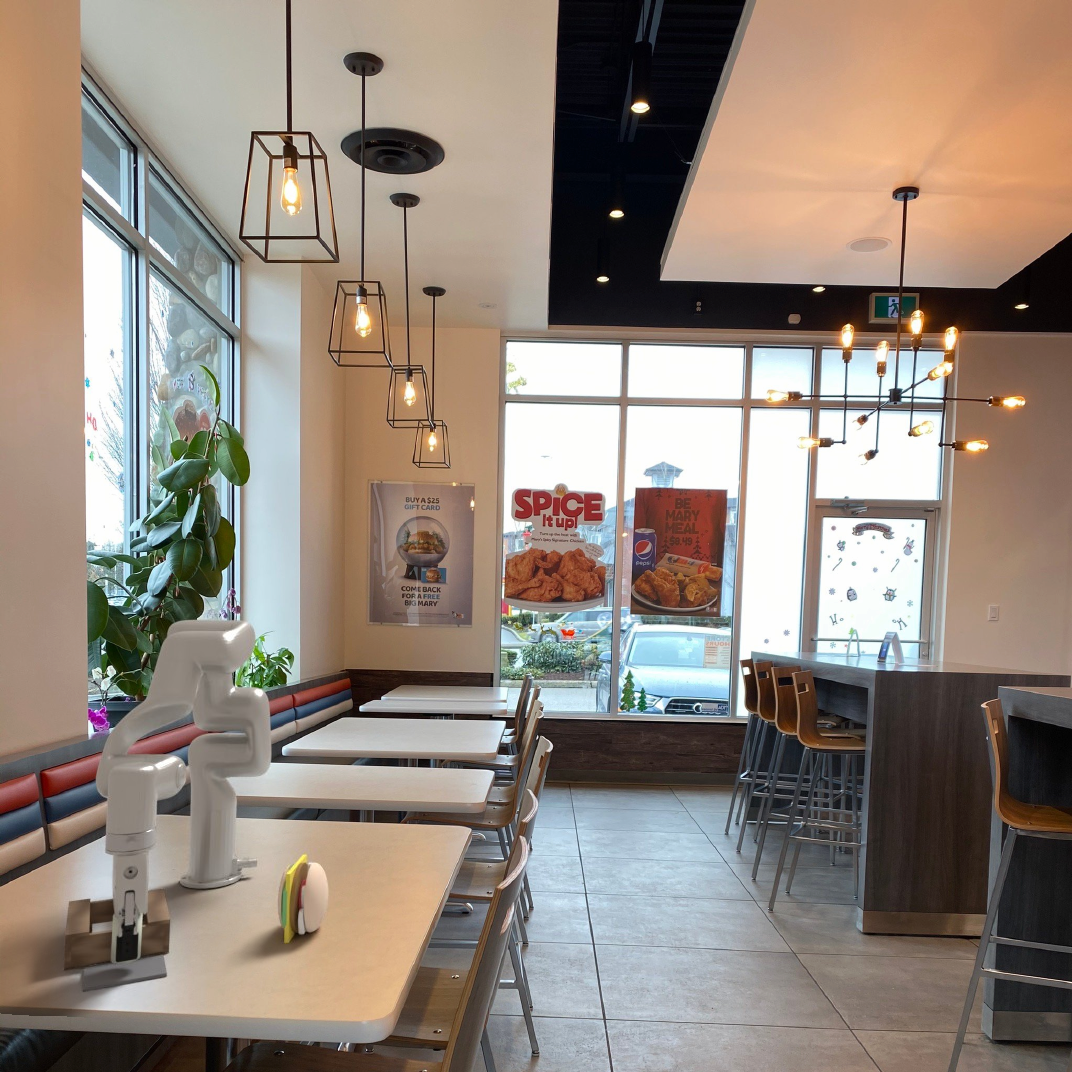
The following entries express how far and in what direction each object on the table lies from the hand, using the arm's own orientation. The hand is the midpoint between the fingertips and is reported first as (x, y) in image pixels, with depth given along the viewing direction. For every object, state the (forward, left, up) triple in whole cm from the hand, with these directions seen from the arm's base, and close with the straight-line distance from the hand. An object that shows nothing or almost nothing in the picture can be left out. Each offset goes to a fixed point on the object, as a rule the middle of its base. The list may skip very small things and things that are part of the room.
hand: (126, 953), depth 138 cm
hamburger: (-30, -6, -4) cm, 31 cm away
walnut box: (+1, -15, -3) cm, 15 cm away
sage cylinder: (0, 0, -1) cm, 1 cm away
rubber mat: (0, 0, -3) cm, 3 cm away
